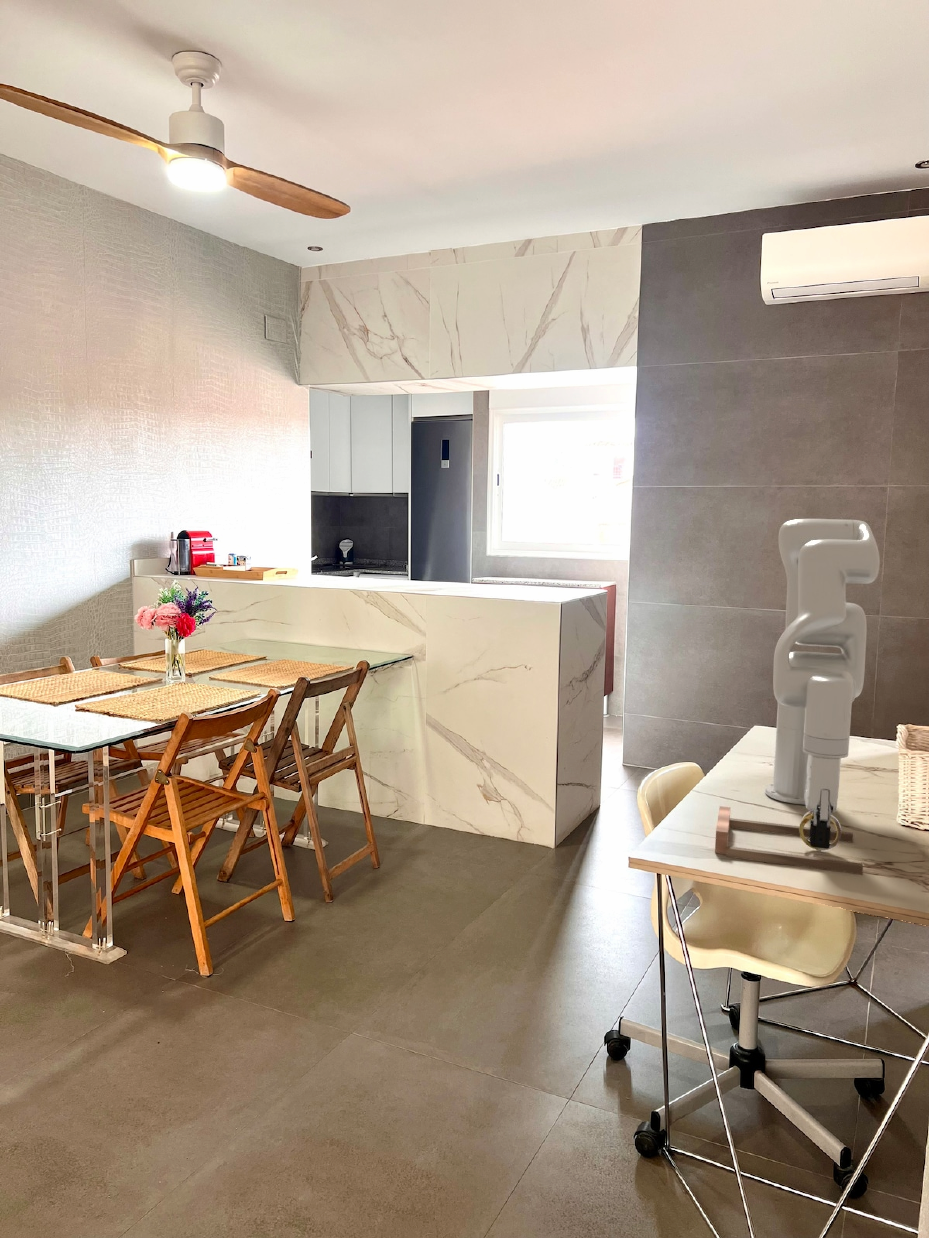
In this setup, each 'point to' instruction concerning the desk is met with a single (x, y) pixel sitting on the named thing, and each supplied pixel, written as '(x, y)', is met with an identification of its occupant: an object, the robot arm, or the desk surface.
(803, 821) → the ring
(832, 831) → the channel
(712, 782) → the desk surface
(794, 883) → the desk surface
